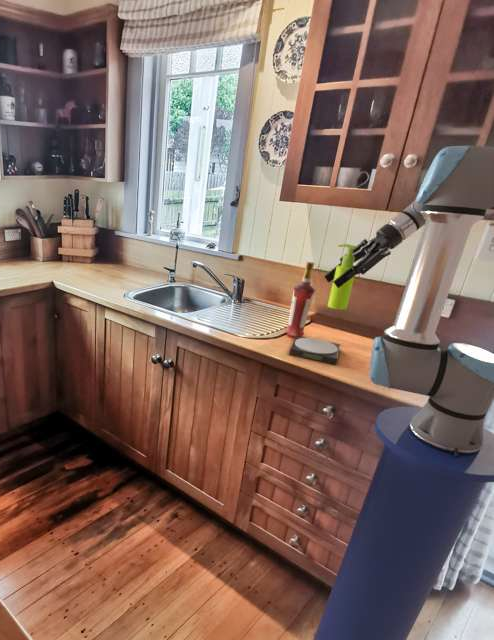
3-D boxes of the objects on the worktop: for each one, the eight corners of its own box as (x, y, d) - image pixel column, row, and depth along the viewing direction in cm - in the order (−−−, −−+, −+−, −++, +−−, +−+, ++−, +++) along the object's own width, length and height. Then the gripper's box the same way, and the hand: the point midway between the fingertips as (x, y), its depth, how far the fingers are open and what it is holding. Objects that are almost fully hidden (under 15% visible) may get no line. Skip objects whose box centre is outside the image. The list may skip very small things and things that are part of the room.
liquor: (285, 330, 182) (301, 259, 170) (305, 334, 179) (322, 262, 167) (282, 336, 177) (298, 262, 164) (302, 340, 174) (320, 266, 161)
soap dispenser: (329, 303, 158) (344, 242, 150) (349, 307, 154) (365, 246, 145) (321, 305, 155) (335, 244, 147) (341, 310, 150) (356, 247, 142)
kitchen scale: (335, 365, 155) (337, 357, 154) (288, 355, 161) (290, 347, 159) (338, 349, 167) (340, 342, 166) (295, 340, 173) (297, 334, 172)
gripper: (419, 247, 137) (350, 298, 143) (384, 235, 154) (324, 282, 160) (407, 227, 134) (338, 281, 141) (373, 218, 151) (312, 266, 158)
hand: (331, 281), depth 150 cm, fingers closed on soap dispenser, 6 cm apart
